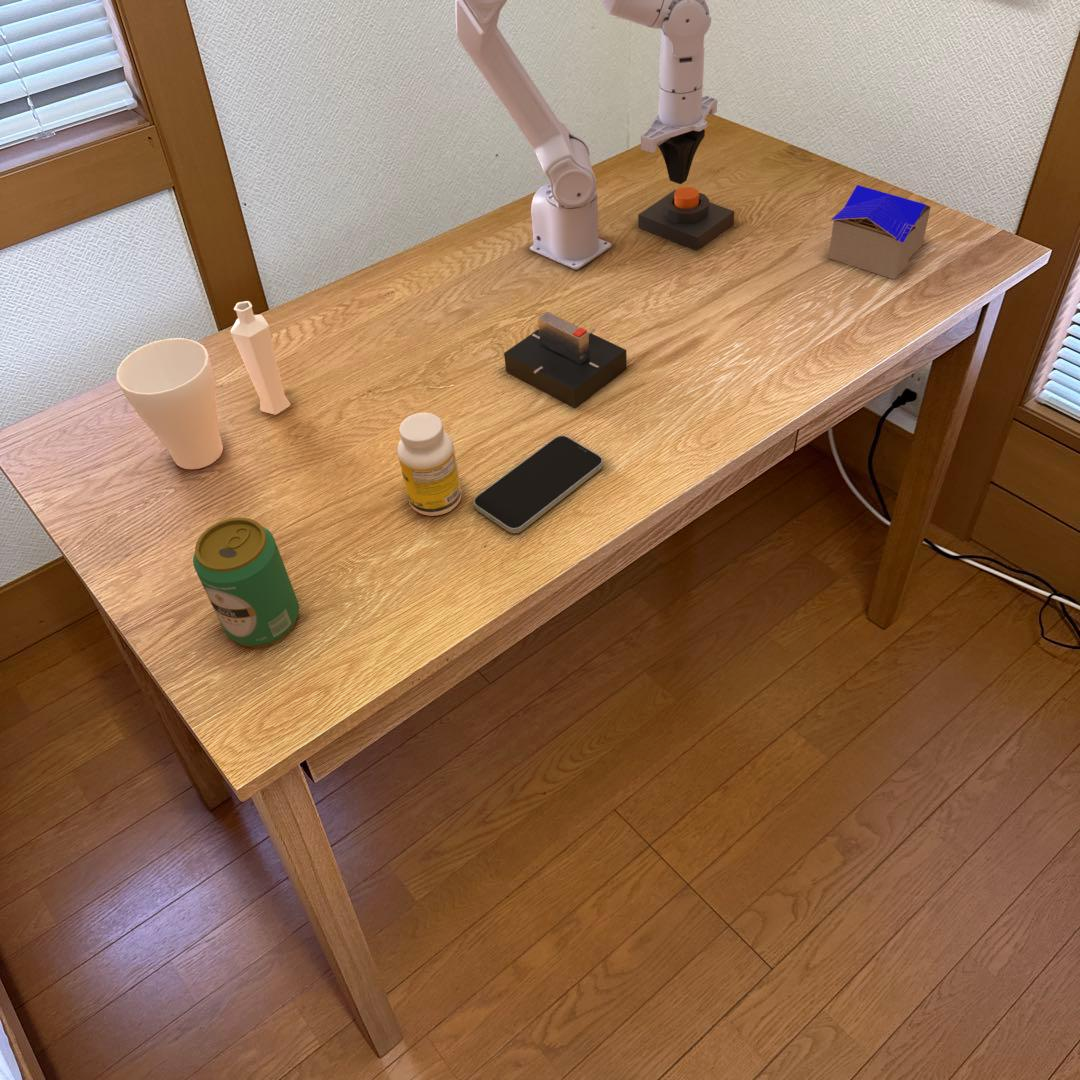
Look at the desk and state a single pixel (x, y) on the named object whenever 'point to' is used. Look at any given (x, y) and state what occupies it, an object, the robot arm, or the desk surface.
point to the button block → (686, 221)
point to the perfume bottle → (259, 357)
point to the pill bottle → (428, 465)
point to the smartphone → (538, 484)
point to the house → (878, 231)
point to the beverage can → (246, 582)
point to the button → (686, 198)
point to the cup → (175, 398)
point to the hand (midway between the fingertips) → (677, 180)
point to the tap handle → (564, 338)
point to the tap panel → (565, 368)
